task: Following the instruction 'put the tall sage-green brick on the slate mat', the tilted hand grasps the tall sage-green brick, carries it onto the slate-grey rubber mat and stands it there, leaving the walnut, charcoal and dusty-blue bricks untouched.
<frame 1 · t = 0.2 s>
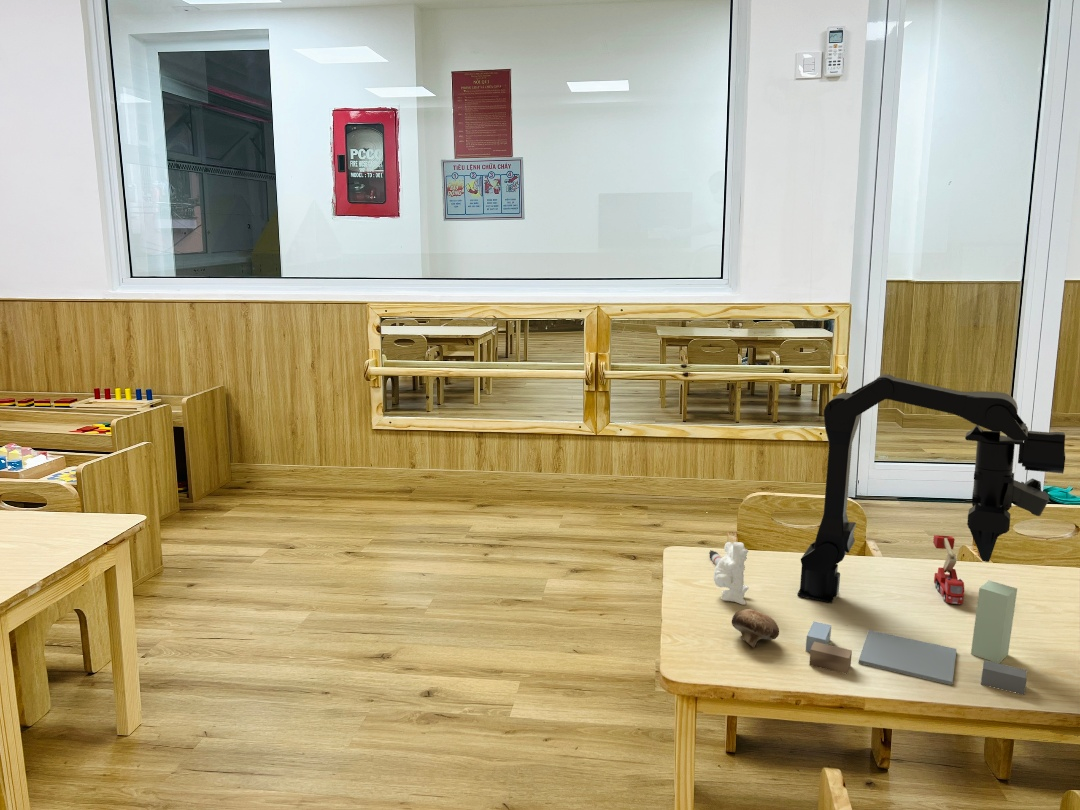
hand: (986, 552, 149), 14 cm above the table, fingers open, 9 cm apart
sage brick: (989, 654, 143), on the table
white toy figurine: (732, 599, 164), on the table
dusty blue brick: (817, 646, 146), on the table
walnut brick: (829, 666, 139), on the table
toy fire truck: (945, 592, 168), on the table
slate mat: (907, 657, 142), on the table
mushroom: (753, 642, 147), on the table
marker: (721, 570, 178), on the table
charcoal brick: (1002, 686, 134), on the table
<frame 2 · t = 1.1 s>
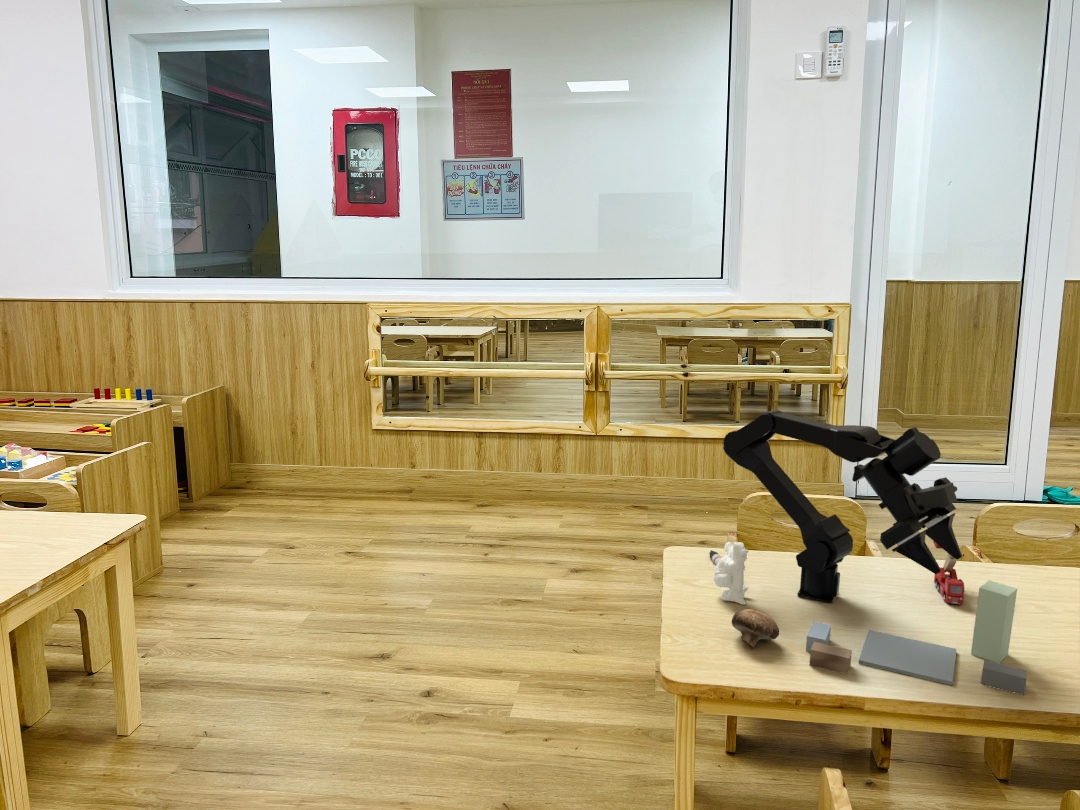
hand: (949, 565, 146), 13 cm above the table, fingers open, 9 cm apart
nothing on the table moved.
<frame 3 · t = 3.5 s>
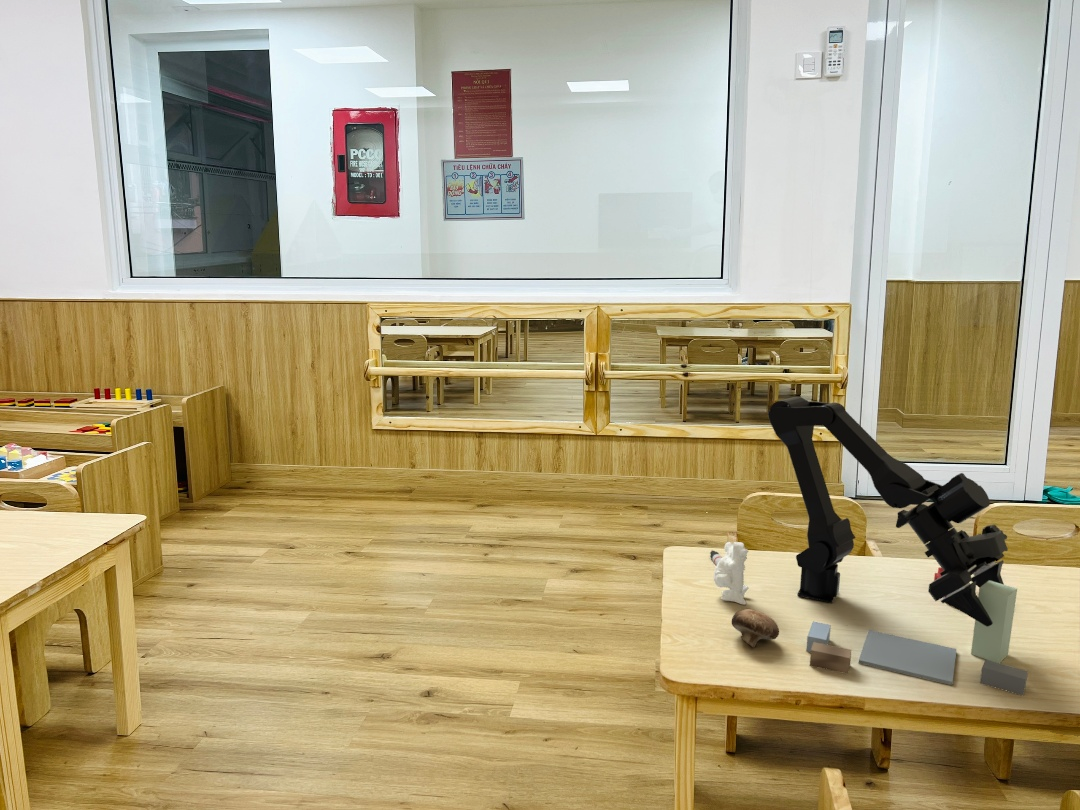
hand: (1000, 616, 141), 7 cm above the table, fingers open, 9 cm apart
nothing on the table moved.
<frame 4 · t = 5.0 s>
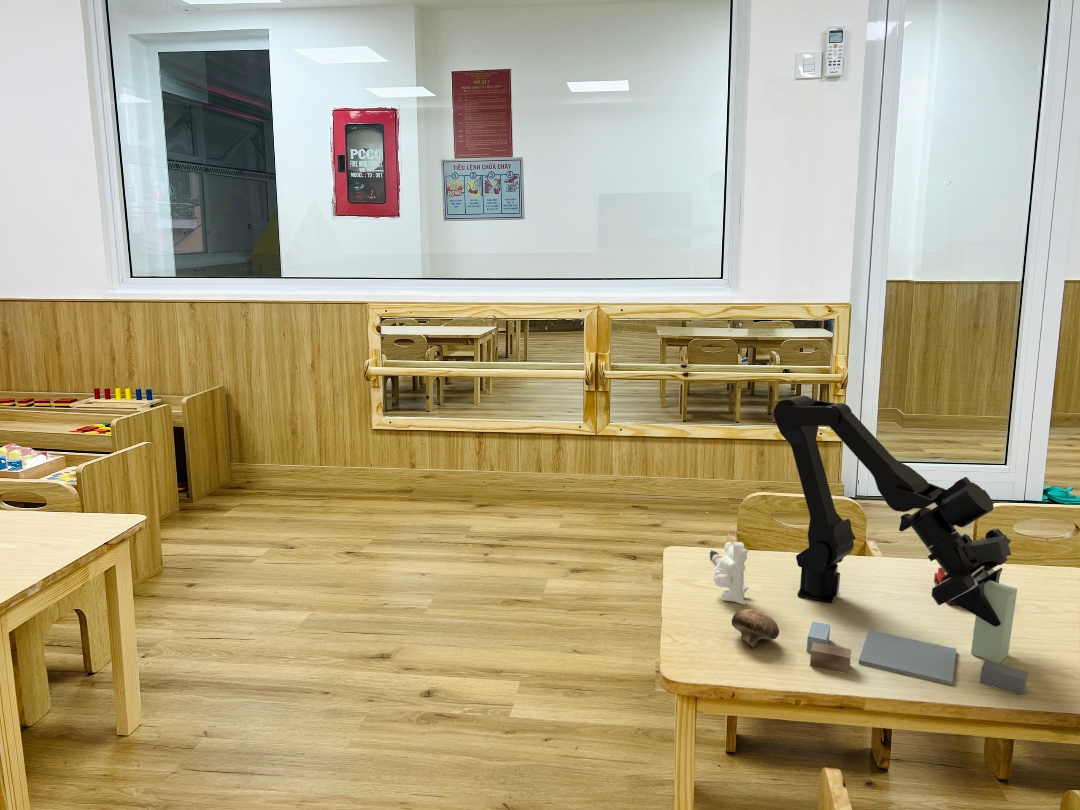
hand: (1003, 620, 141), 7 cm above the table, fingers closed on sage brick, 4 cm apart
sage brick: (989, 654, 143), on the table, touching gripper
everything else where it was.
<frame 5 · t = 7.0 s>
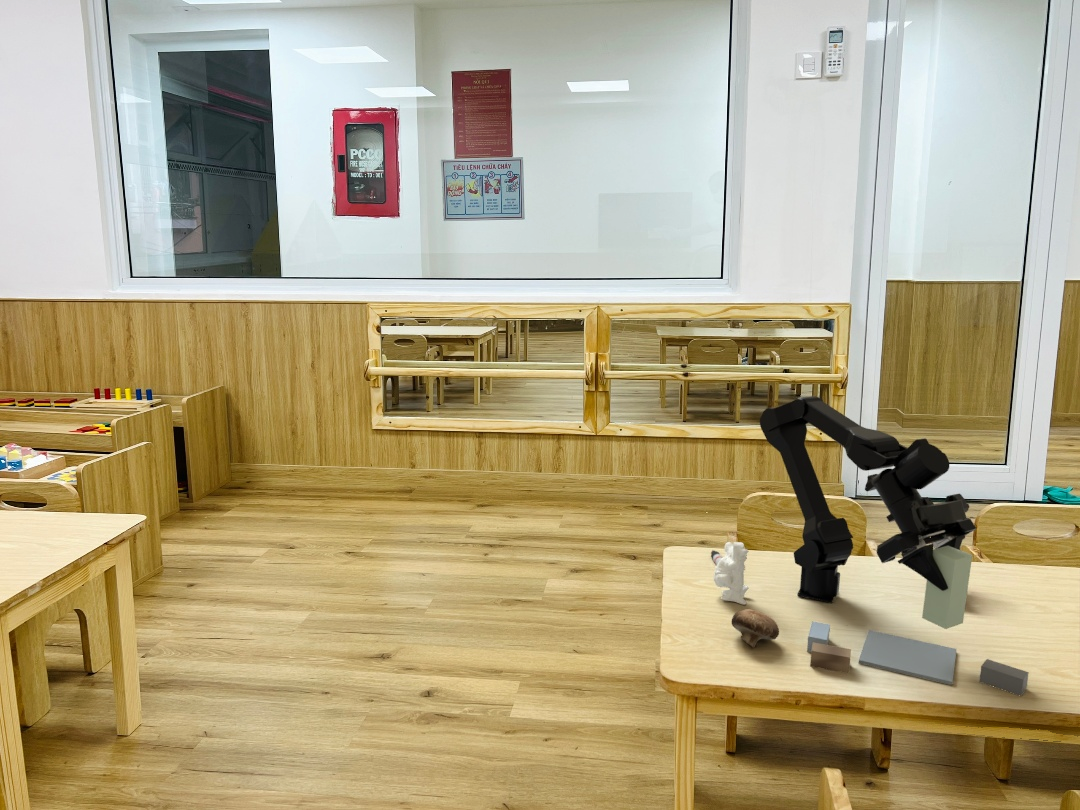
hand: (954, 586, 138), 13 cm above the table, fingers closed on sage brick, 4 cm apart
sage brick: (942, 620, 140), point 7 cm above the table, touching gripper
everything else where it was.
when the fingers open (8 cm above the table, at t = 9.5 s): sage brick drops 1 cm, resting on slate mat.
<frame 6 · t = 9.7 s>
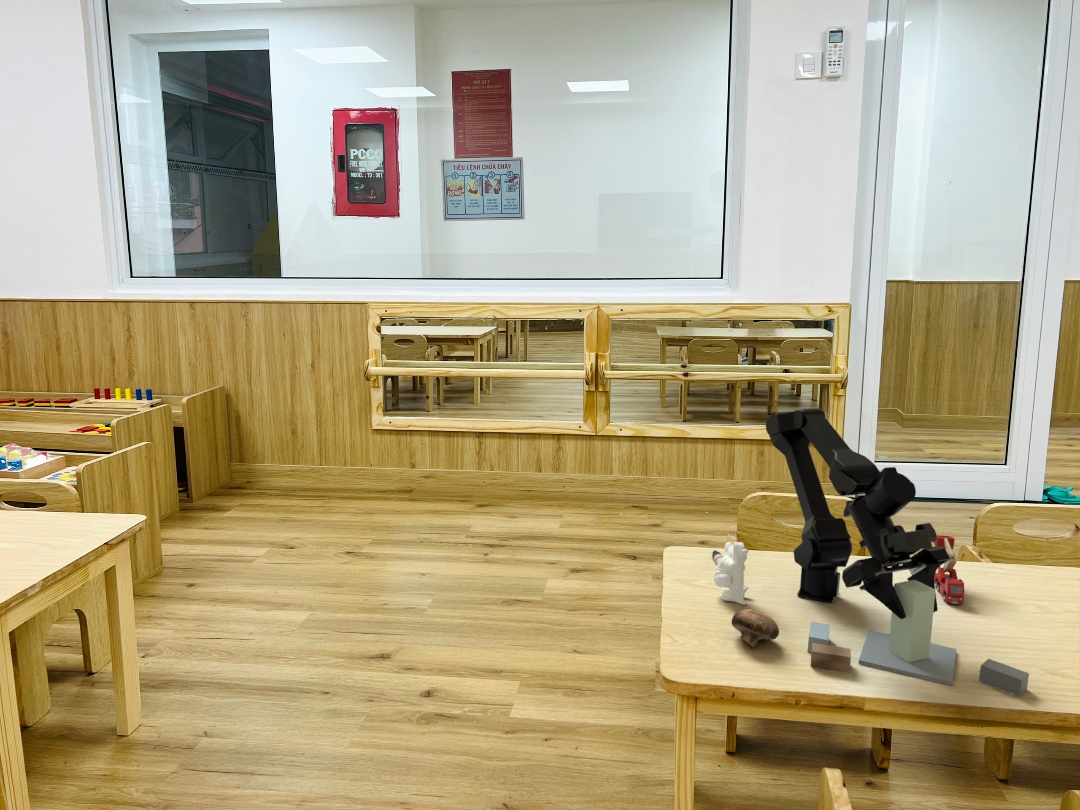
hand: (919, 614, 139), 8 cm above the table, fingers open, 6 cm apart
sage brick: (908, 654, 142), point 1 cm above the table, touching slate mat
everything else where it was.
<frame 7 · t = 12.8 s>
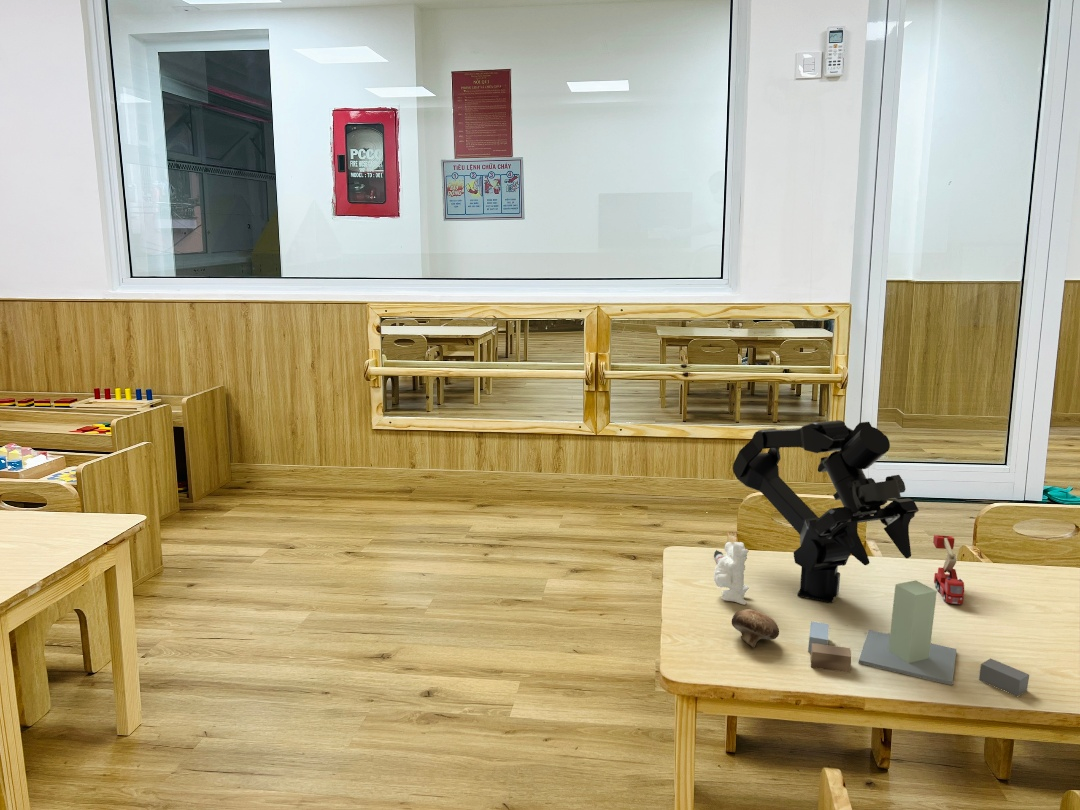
hand: (888, 560, 147), 14 cm above the table, fingers open, 9 cm apart
nothing on the table moved.
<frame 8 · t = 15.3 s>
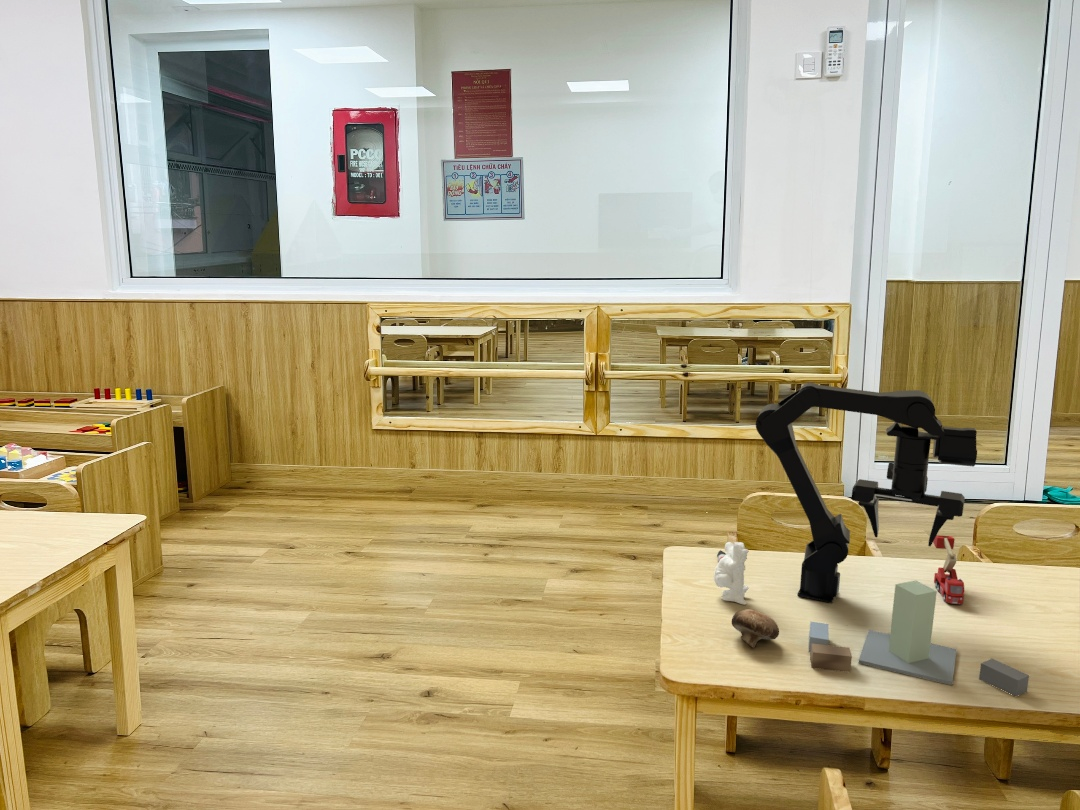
hand: (902, 541, 158), 13 cm above the table, fingers open, 9 cm apart
nothing on the table moved.
at the end: sage brick inside the target area on the slate mat (0.0 cm from its centre), point 0.6 cm above the slate mat's base; sage brick tilted 0°; charcoal brick moved 0.2 cm from its start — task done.
